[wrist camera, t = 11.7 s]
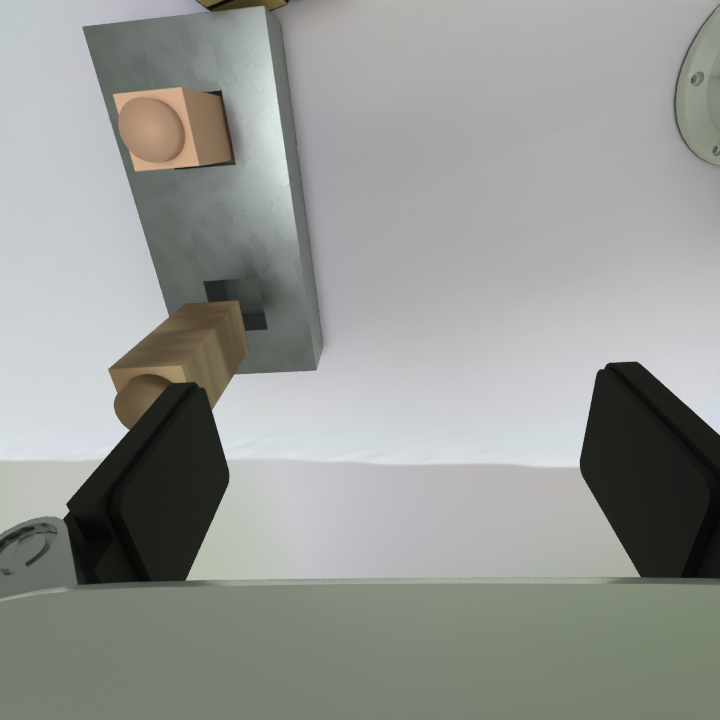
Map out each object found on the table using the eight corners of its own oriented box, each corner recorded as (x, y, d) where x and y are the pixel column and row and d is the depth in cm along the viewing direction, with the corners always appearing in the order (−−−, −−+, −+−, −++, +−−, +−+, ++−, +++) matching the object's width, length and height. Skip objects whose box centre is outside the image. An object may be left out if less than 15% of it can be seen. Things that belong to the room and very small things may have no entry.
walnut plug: (238, 300, 31) (171, 377, 21) (249, 349, 33) (192, 441, 23) (185, 303, 32) (94, 380, 22) (198, 352, 33) (121, 444, 24)
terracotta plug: (235, 99, 33) (172, 84, 23) (246, 157, 35) (191, 167, 25) (184, 105, 33) (100, 92, 23) (197, 162, 35) (124, 173, 25)
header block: (280, 23, 32) (264, 5, 27) (323, 346, 43) (316, 370, 39) (123, 41, 32) (82, 26, 28) (207, 352, 44) (187, 376, 40)
